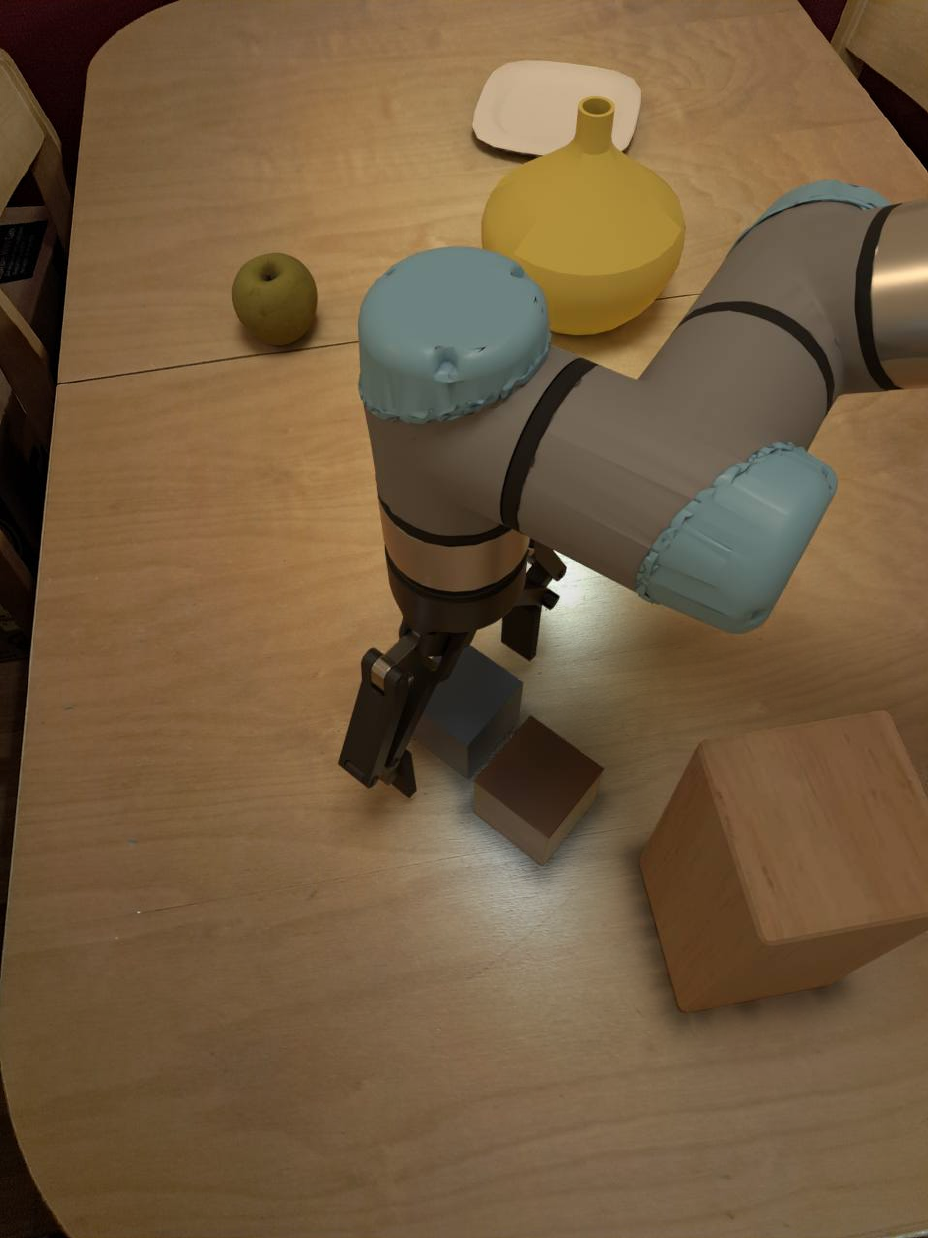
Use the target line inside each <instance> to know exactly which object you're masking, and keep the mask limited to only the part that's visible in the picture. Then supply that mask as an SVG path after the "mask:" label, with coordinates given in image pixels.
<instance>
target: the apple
mask: <svg viewBox="0 0 928 1238" xmlns="http://www.w3.org/2000/svg"><path fill="white" fill-rule="evenodd" d="M318 295H319V294H318V287H317V283H316V281H315V278H314V276H313V274H312V273H311V271H310V270H309V269H308V268H307V266H306V265H305V264H304V263H303V262H302V261H301V260H299V259H298V258H296V257H295V256H292V255H289V254H286V253H283V252H269V253H265V254H261V255H258V256H255V257H253V258H251V259H249V260H248V261H246V262H245V263H243V264H242V265H241V267H240V268H239V269H238V271H237V272H236V274H235V277H234V279H233V282H232V287H231V303H232V306H233V309H234V313H235V315H236V317H237V319H238V320H239V322H240V324H241V325H242V326H243V328H244V329H245V330H246V331H247V332H248V333H249V334H250V335H251V336H252V337H254V338H255V339H257V340H258V341H260V342H261V343H263V344H268V345H271V346H284V345H288V344H289V345H290V344H291V343H294V342H295V341H298V340H299V339H301V338H302V337H303V336H304V335H305V334H306V333H307V332H308V330H309V329H310V327H311V325H312V324H313V321H314V319H315V317H316V314H317V309H318V302H319V301H318V300H319V297H318Z"/></svg>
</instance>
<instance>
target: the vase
mask: <svg viewBox="0 0 928 1238" xmlns="http://www.w3.org/2000/svg"><path fill="white" fill-rule="evenodd" d="M614 111H615V105H614V103H613V102H612V101H611V100H610V99H608V98H605V97H601V96H590V97H586V98H584V99H582V100H581V101H580V102H579V105H578V113H577V123H576V133H575V136H574V139H573V140H572V141H571V142H570V143H569V144H568V145H566V146H564V147H562V148H560V149H557V150H555V151H553V152H551V153H549V154H546V155H544V156H541V157H536V158H534V159H531V160H529V161H526V162H524V163H522V164H520V165H518V166H516V167H515V168H514V169H512V170H511V171H509V172H508V173H507V174H505V175H504V176H503V177H501V178H500V180H499V181H498V182H497V184H496V185H495V187H494V188H493V189H492V191H491V192H490V194H489V198H488V199H487V202H486V204H485V207H484V210H483V213H482V218H481V222H480V227H481V229H480V230H481V232H480V233H481V235H480V237H481V247H482V248H481V249H485V250H490V251H493V252H496V253H499V254H501V255H504V256H506V257H508V258H510V259H512V260H513V261H515V262H517V263H518V264H520V265H521V266H522V268H523V270H524V271H525V272H526V273H527V275H528V276H529V277H530V278H531V279H532V280H533V281H535V282H536V283H537V284H538V285H539V286H540V287H541V289H542V291H543V293H544V295H545V298H546V302H547V306H548V316H549V321H550V325H549V327H550V329H551V332H554V333H557V334H563V335H572V336H585V335H595V334H596V335H597V334H600V333H605V332H607V331H612V330H614V329H616V328H618V327H619V326H622V325H623V324H625V323H627V322H629V321H630V320H632V319H635V318H636V317H637V316H639V315H641V314H642V313H643V312H644V311H645V310H646V309H647V308H648V307H650V306H651V305H652V304H653V302H655V300H656V299H657V298H658V297H659V295H660V294H661V293H662V291H663V290H664V289H665V288H666V286H667V285H668V284H669V282H671V280H672V278H673V276H674V274H675V272H676V271H677V268H678V267H679V265H680V262H681V258H682V255H683V250H684V246H685V240H686V239H685V238H686V230H687V228H686V226H687V225H686V220H685V217H684V211H683V208H682V205H681V202H680V198H679V196H678V195H677V194H676V192H675V191H674V190H673V188H672V187H671V185H670V184H669V183H668V181H666V180H664V178H662V177H661V176H660V175H658V174H657V173H656V172H654V171H653V170H652V169H650V168H648V167H647V166H645V165H643V164H641V163H640V162H639V161H636V160H635V159H632V157H630V156H629V155H627V154H626V153H624V151H623V152H621V151H620V150H618V149H617V148H616V147H615V146H614V144H613V143H612V137H611V134H612V126H613V118H614Z"/></svg>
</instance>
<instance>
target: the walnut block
mask: <svg viewBox="0 0 928 1238" xmlns="http://www.w3.org/2000/svg"><path fill="white" fill-rule="evenodd" d="M604 771H605V767H603V766H602V765H601V764H599V763H598V762H596V761H595V760H594V759H593V758H591V757H589V756H588V755H587V754H586V753H584V752H583V751H581V750H580V749H578V748H577V747H576V746H574V745H573V744H572V743H570V742H569V741H568V740H566V739H565V738H564V737H562V736H560V735H559V734H558V733H556V731H554V730H553V729H551V728H550V727H548V726H547V725H546V724H544V723H543V722H541V720H539V719H538V718H536V717H535V716H533V715H532V714H530V715H529V716H528V717H527V718H526V719H525V721H523V722H522V724H521V725H520V726H519V727H518V728H517V730H516V731H515V732H514V733H513V734H512V735H511V737H509V739H508V740H507V741H506V742H505V744H504V745H503V746H502V747H501V749H499V751H498V752H497V753H496V754H495V755H494V757H493V758H492V759H491V760H490V761H489V762H488V764H487V765H486V766H485V767H484V768H483V769H482V770H481V772H479V774H478V775H477V776H476V777H475V778H474V780H473V813H474V814H475V815H476V816H478V817H479V818H480V819H481V820H483V821H484V822H485V823H487V824H488V825H489V826H490V827H492V828H493V829H494V830H496V831H497V832H498V833H499V834H501V835H502V836H503V837H504V838H505V839H507V840H508V841H509V842H510V843H512V844H513V845H514V846H516V847H517V848H518V849H520V850H521V851H522V852H523V853H525V854H526V855H527V856H528V857H530V858H531V859H532V860H533V861H535V862H536V863H537V864H538V865H540V866H541V867H544V866H545V865H546V863H547V862H548V861H549V859H550V858H551V857H552V856H553V854H554V853H555V852H556V851H557V849H558V848H559V846H561V844H562V843H563V842H564V841H565V839H566V838H567V836H568V835H569V834H570V833H571V832H572V830H573V829H574V827H576V825H577V824H578V822H579V821H580V820H581V819H582V818H583V816H584V815H585V813H586V812H587V811H588V810H589V809H590V807H591V806H592V805H593V804H594V802H595V800H596V796H597V793H598V790H599V787H600V784H601V781H602V778H603V775H604Z"/></svg>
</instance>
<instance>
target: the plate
mask: <svg viewBox="0 0 928 1238" xmlns="http://www.w3.org/2000/svg"><path fill="white" fill-rule="evenodd" d="M590 96H601V97H605V98H608V99H610V100H611V101H612V102H613V103H614V105H615V111H614V118H613V126H612V134H611V137H612V143H613V144H614V146H615V147H616V148H617V149H618V150H620V151H621V152H623V153H624V151H625V150H627V149H628V147H629V145H630V144H631V141H632V139H633V136H634V134H635V131H636V127H637V123H638V119H639V115H640V110H641V105H642V90H641V88H640V86H639V85H638V83H637V82H636V81H635V79H634V78H633V77H631V76H628V75H627V74H624V73H622V72H620V71H617V70H613V69H610V68H609V69H608V68H603V67H599V66H594V65H593V66H592V65H584V64H579V63H578V64H577V63H571V62H570V63H569V62H562V61H561V62H559V61H551V60H534V59H533V60H531V59H523V60H518V61H511V62H506V63H504V64H503V65H501V66H500V67H498V68H497V69H495V70H494V71H492V73H491V74H490V76H489V77H488V79H487V81H486V82H485V83H484V86H483V88H482V90H481V92H480V95H479V97H478V100H477V103H476V106H475V109H474V112H473V116H472V122H471V129H472V130H473V133H474V135H475V138H476V140H478V141H479V142H481V143H483V144H485V145H486V146H488V147H491V148H492V149H494V150H498V151H503V152H508V153H512V154H515V155H516V154H517V155H522V156H531V157H536V158H538V157H541V156H544V155H546V154H549V153H551V152H553V151H555V150H557V149H560V148H562V147H564V146H566V145H568V144H569V143H570V142H571V141H572V140H573V139H574V136H575V133H576V123H577V113H578V105H579V102H580V101H581V100H582V99H584V98H586V97H590Z"/></svg>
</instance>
